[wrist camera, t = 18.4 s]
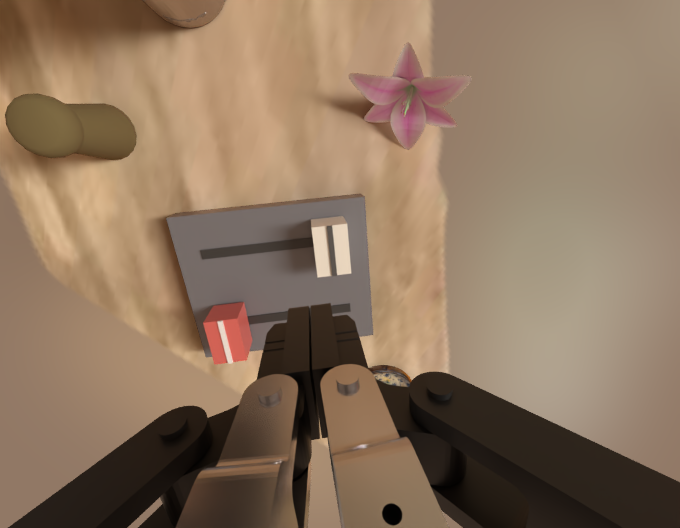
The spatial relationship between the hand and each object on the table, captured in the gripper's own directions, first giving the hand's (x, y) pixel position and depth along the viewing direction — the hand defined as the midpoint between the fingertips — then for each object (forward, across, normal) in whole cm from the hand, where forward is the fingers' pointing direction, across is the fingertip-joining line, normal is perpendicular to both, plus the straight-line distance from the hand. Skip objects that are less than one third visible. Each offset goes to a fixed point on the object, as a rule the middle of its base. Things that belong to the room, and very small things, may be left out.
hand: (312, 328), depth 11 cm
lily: (+32, -12, -10) cm, 36 cm away
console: (+32, +5, +10) cm, 34 cm away
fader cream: (+29, -2, +5) cm, 29 cm away
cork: (+32, +22, -10) cm, 40 cm away
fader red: (+29, +12, +15) cm, 34 cm away
